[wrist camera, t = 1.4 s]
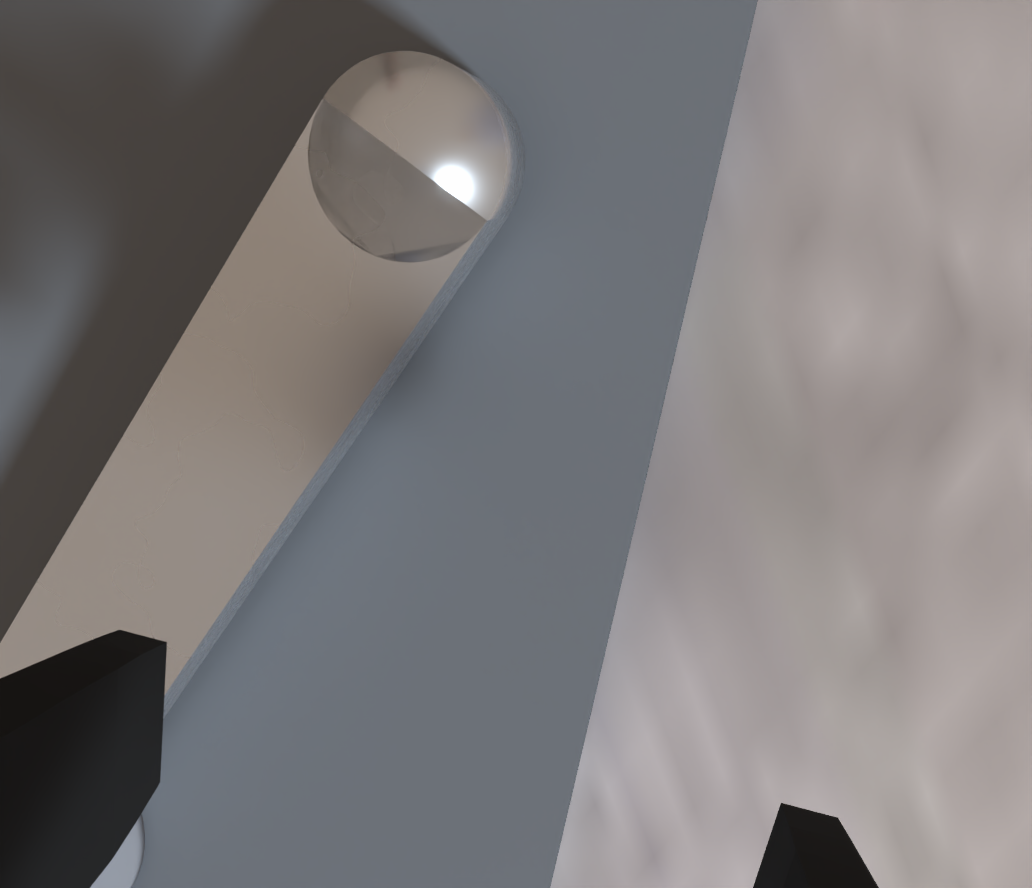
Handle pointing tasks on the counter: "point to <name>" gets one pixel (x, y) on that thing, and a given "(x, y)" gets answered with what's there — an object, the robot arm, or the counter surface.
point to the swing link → (283, 361)
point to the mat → (392, 427)
